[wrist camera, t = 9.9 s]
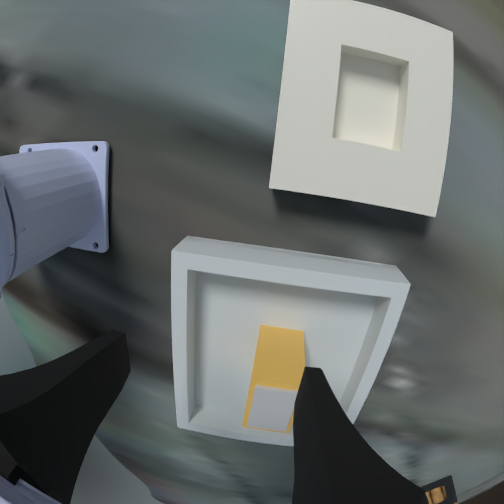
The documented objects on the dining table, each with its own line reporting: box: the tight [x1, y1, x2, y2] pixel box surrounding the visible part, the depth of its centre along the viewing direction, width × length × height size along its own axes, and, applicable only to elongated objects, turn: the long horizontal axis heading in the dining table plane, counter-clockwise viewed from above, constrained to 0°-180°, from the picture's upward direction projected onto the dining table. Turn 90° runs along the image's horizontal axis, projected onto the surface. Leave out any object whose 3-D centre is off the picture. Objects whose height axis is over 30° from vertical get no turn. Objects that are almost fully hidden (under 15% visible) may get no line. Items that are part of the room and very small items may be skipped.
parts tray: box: [171, 236, 411, 446], centre depth 21 cm, size 14×16×3 cm
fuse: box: [242, 324, 305, 433], centre depth 19 cm, size 3×4×6 cm, turn 172°
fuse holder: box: [269, 0, 453, 217], centre depth 15 cm, size 10×12×2 cm
